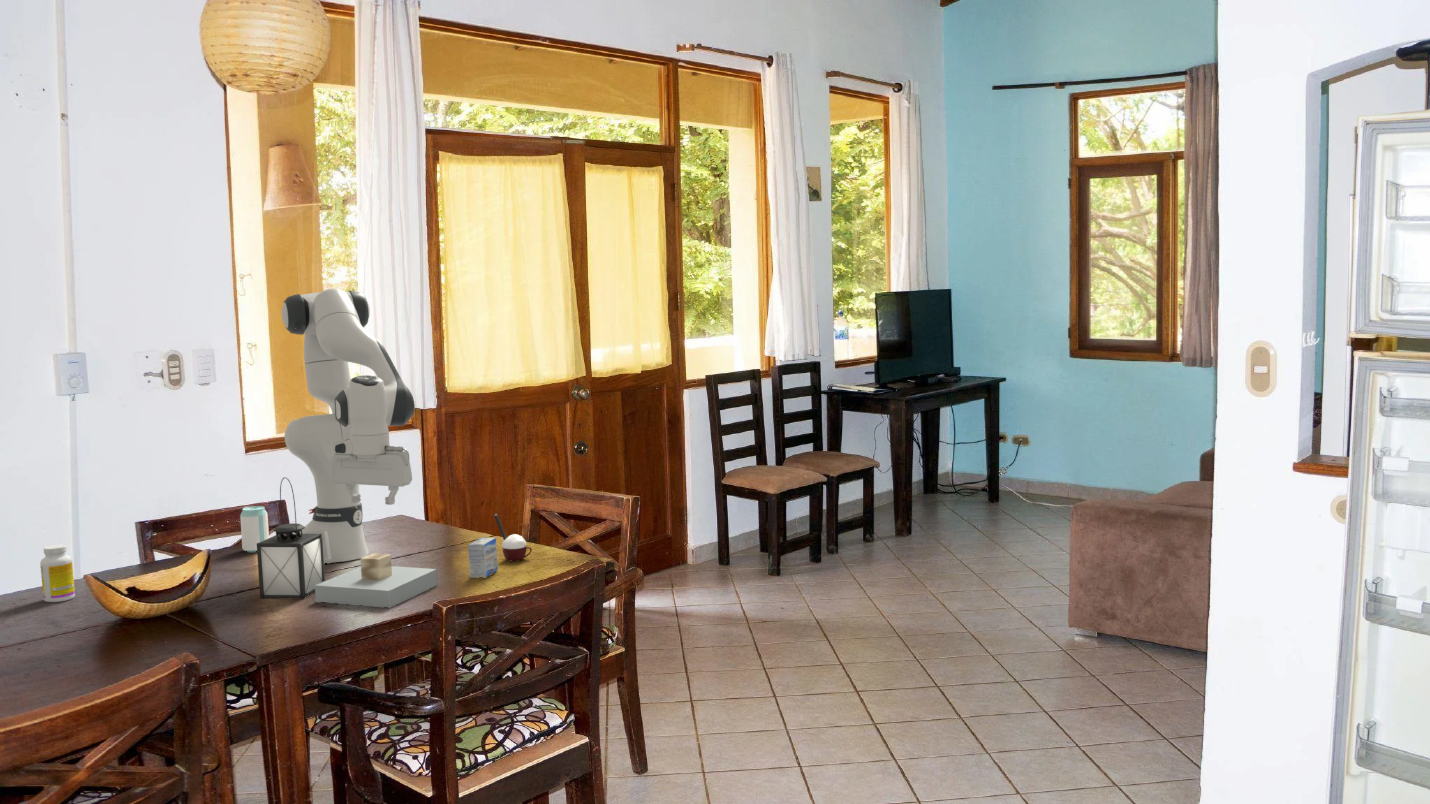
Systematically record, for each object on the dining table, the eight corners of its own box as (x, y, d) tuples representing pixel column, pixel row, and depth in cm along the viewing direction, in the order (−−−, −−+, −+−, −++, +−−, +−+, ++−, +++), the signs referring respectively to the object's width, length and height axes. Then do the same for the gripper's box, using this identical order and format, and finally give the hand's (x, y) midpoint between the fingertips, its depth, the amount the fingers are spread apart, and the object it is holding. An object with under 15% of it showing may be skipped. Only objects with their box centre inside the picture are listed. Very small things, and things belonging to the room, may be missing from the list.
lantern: (282, 586, 284) (274, 473, 281) (326, 586, 282) (318, 473, 279) (259, 599, 273) (251, 482, 270) (304, 599, 271) (296, 481, 268)
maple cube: (361, 579, 273) (360, 558, 272) (374, 573, 278) (373, 553, 277) (379, 580, 271) (378, 559, 271) (392, 575, 276) (391, 554, 275)
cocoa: (534, 560, 306) (535, 515, 305) (520, 564, 301) (520, 519, 300) (505, 555, 311) (506, 511, 309) (491, 559, 305) (491, 514, 304)
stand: (315, 602, 268) (314, 585, 268) (367, 580, 287) (366, 564, 287) (389, 608, 262) (388, 590, 262) (437, 585, 281) (436, 569, 281)
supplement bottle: (81, 596, 278) (77, 544, 277) (58, 604, 272) (53, 550, 270) (60, 594, 280) (56, 542, 279) (36, 602, 274) (32, 549, 273)
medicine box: (486, 579, 286) (484, 544, 285) (469, 578, 287) (467, 544, 286) (498, 571, 294) (496, 537, 293) (481, 570, 295) (480, 537, 294)
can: (237, 550, 323) (235, 508, 321) (261, 546, 328) (259, 504, 327) (250, 554, 318) (247, 511, 317) (274, 549, 323) (271, 507, 322)
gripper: (415, 444, 271) (418, 502, 272) (341, 442, 277) (345, 498, 279) (400, 448, 265) (403, 508, 266) (325, 446, 271) (328, 503, 273)
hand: (372, 503), depth 273 cm, fingers open, 8 cm apart
